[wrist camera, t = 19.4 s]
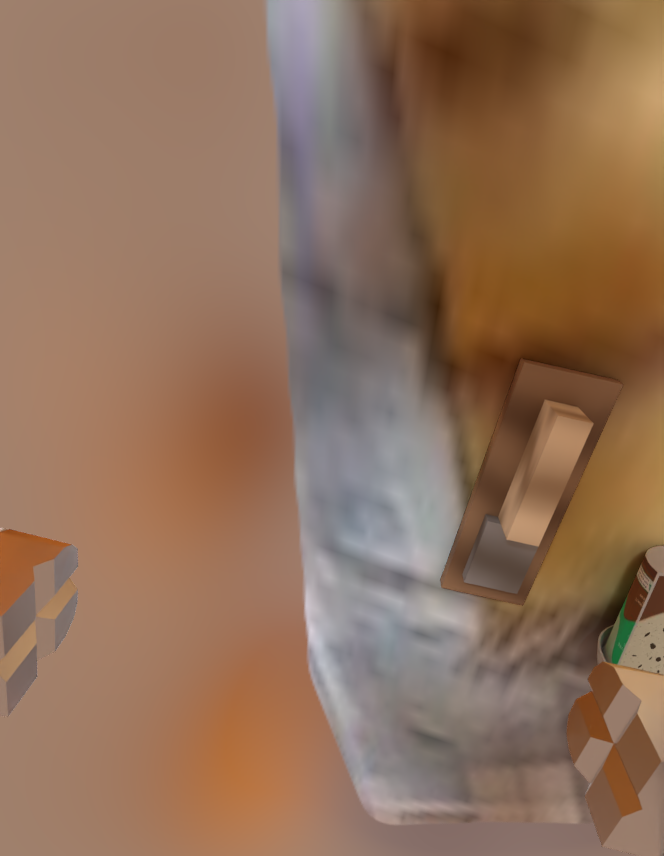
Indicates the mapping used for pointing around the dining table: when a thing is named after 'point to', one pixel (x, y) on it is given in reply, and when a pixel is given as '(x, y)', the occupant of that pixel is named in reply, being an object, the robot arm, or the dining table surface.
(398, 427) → the dining table surface
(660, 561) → the food container
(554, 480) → the turner
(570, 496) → the wooden board
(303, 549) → the dining table surface
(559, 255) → the dining table surface
